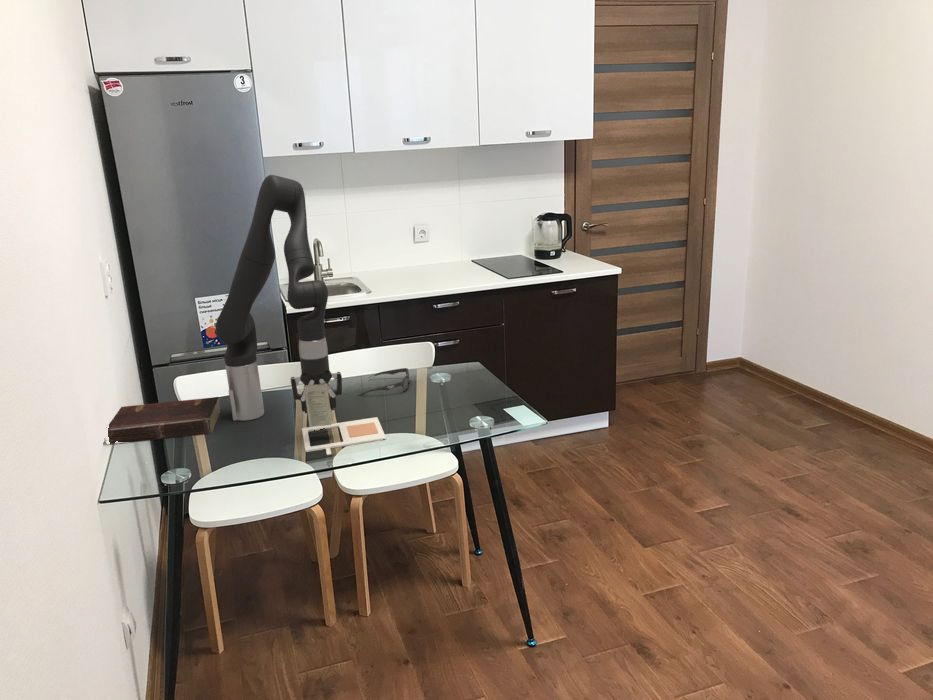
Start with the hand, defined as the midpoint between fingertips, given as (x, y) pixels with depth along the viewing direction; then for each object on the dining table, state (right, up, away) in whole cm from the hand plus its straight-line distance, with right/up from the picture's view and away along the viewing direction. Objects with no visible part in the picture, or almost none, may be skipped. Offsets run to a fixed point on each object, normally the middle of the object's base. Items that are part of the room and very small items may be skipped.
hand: (319, 410), depth 207 cm
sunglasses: (+14, +4, +40) cm, 43 cm away
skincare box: (0, -4, +1) cm, 4 cm away
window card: (+6, -8, +2) cm, 10 cm away
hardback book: (-49, -7, +17) cm, 52 cm away
